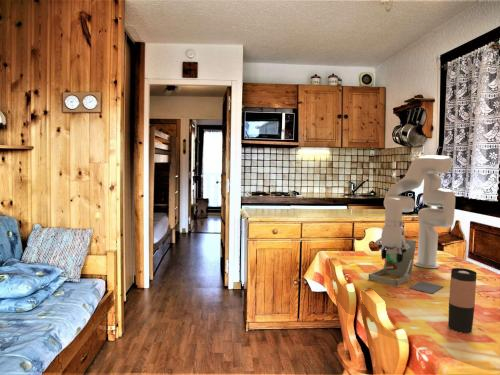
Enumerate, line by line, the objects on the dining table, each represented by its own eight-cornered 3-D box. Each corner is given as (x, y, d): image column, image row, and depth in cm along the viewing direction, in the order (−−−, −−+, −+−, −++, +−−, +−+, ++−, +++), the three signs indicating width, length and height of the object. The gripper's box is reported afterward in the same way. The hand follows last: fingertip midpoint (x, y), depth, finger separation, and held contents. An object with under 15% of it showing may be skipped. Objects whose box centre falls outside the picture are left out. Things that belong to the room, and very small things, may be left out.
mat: (420, 281, 185) (420, 281, 185) (443, 287, 178) (443, 286, 178) (409, 288, 175) (409, 287, 175) (432, 294, 168) (432, 293, 168)
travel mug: (442, 324, 137) (446, 267, 136) (463, 323, 138) (467, 267, 136) (456, 333, 129) (460, 274, 128) (477, 333, 130) (482, 274, 129)
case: (387, 271, 202) (389, 236, 201) (414, 277, 193) (416, 240, 192) (368, 279, 187) (370, 242, 186) (396, 286, 178) (398, 246, 176)
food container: (400, 271, 182) (400, 250, 181) (386, 270, 184) (386, 249, 183) (399, 264, 194) (399, 244, 193) (385, 264, 195) (385, 244, 195)
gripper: (414, 225, 183) (413, 262, 185) (379, 220, 195) (378, 255, 197) (408, 227, 178) (406, 265, 180) (372, 222, 190) (371, 258, 192)
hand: (391, 259), depth 188 cm, fingers closed on food container, 7 cm apart
